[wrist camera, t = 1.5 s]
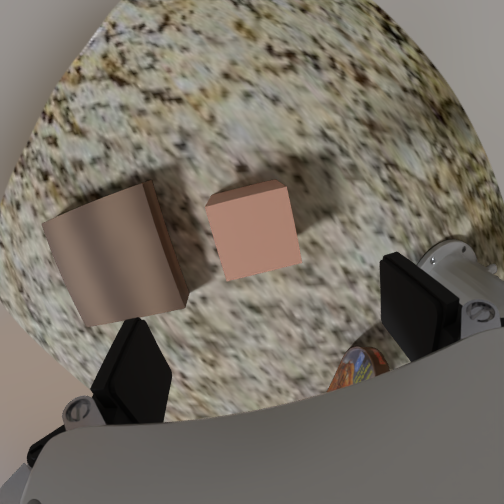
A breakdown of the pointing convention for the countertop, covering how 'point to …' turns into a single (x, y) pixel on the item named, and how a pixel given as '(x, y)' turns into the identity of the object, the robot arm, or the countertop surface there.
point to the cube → (253, 229)
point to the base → (118, 257)
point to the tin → (358, 367)
